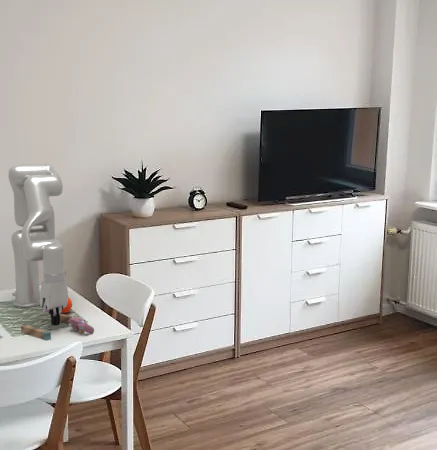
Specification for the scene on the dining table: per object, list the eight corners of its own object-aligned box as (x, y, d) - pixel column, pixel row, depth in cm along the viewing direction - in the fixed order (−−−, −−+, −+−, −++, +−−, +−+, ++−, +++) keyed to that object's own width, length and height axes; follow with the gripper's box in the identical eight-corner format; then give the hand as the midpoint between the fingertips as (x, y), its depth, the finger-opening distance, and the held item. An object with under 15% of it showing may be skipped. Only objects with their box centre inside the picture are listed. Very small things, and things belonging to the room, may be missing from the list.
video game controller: (71, 333, 257) (63, 319, 254) (79, 325, 260) (72, 311, 257) (87, 339, 251) (79, 325, 248) (96, 331, 254) (88, 317, 250)
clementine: (49, 313, 275) (48, 296, 274) (58, 309, 282) (58, 292, 280) (66, 316, 273) (65, 299, 271) (75, 311, 279) (75, 294, 278)
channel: (21, 332, 253) (20, 325, 253) (60, 319, 268) (60, 313, 268) (46, 340, 245) (46, 333, 245) (85, 326, 261) (85, 320, 260)
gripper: (62, 271, 261) (63, 317, 264) (31, 279, 249) (33, 328, 252) (76, 274, 257) (77, 321, 260) (45, 283, 245) (46, 332, 248)
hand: (55, 324), depth 256 cm, fingers closed
